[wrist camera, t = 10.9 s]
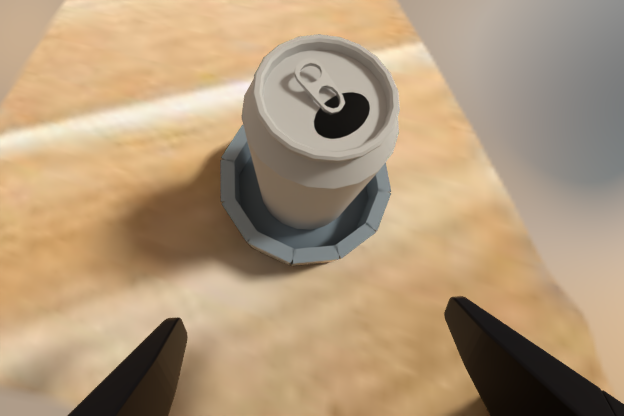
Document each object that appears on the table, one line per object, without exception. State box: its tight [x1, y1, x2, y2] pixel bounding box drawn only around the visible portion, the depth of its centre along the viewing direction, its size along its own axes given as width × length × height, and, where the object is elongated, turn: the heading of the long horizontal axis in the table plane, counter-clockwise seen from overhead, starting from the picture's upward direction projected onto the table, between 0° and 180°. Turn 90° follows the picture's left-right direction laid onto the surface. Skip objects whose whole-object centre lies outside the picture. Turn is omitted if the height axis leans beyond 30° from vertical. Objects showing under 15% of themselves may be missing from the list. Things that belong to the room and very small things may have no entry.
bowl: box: [221, 125, 391, 266], centre depth 21 cm, size 13×13×4 cm
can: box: [242, 34, 400, 230], centre depth 16 cm, size 8×8×12 cm
